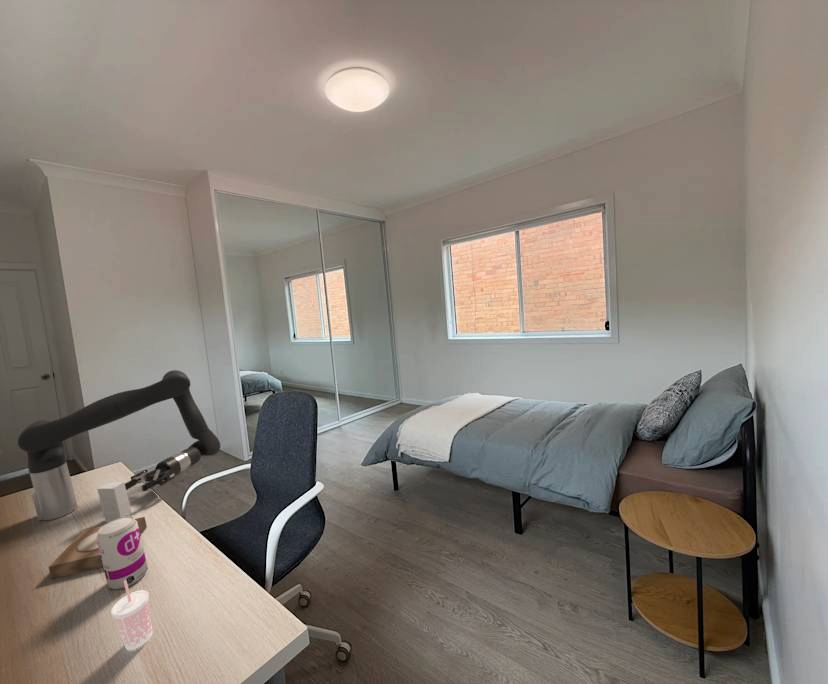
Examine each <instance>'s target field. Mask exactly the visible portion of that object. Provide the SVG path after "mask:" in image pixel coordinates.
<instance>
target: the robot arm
mask: <svg viewBox="0 0 828 684" xmlns="http://www.w3.org/2000/svg"><path fill="white" fill-rule="evenodd" d="M190 388H191V380H190V378H189V377H188V375H187V374H186V373H185V372H183V371H181V370H176V369H173V370H170V371H168V372H166V373H165V374H164V375H163V376H162V379H161V380H159V381H157V382H155V383H152V384H151V385H147V386H145V387H141V388H137V389H135V388H134V389H129V390H124V391H121V392H120V391H119V392H117V393H113V394H112V395H108V396H105V397H103V398H101V399H98V400H96V401H94V402H92V403H90V404H87V405H86V406H84V407H82V408H80V409H78V410H77V411H75V412H73V413H71V414H68V415H66V416H64V417H61V418H58V419H54V420H51V421H50V420H45V419H43V420H37V421H34V422H32V423H30V424H29V425H28V426H26V427H25V428H24V429H23V430H22V432H21V433H20V435H19V436H18V440H17V445H18V447H19V448H20V449H21V450H22V451H24V452H26V453H27V469H28V472H29V476H30V480H31V484H32V487H33V490H34V491H33V492H34V493H32V495H31V498H32V502H33V504H34V508H35V511H36V515H37V519H38V521H51V520H56V519H58V518H62V517H65V516H66V515H69V514H70V513H73V512H74V511H75V510H76V509H77V508H78V503H77V502H78V501H77V499H76V494H75V489H74V486H73V481H72V478H71V475H70V471H69V467H68V463H67V460H66V451H65V449H66V448H65V446H64V445H65V444H64V442H65V441H67V440H68V439H70V438H72V437H74V436H75V437H76V436H77V435H80V434H81V433H83V434H84V433H85V432H88V431H91V430H95V429H97V428H99V427H103V426H105V425H108V424H110V423H113V422H115V421H118V420H120V419H123V418H125V417H128V416H130V415H132V414H135V413H137V412H140V411H141V410H144V409H146V408H148V407H151V406H153V405H156V404H158V403H161V402H163V401H167V400H170V399H173V401H174V402H175V404H176V406H177V407H176V408H178V409H177V410H178V411H179V413H180V416H181V418H182V421H183V423H184V425H185V427H186V429H187V432H188V434H189V436H190V437H191V438H192V439H194V440H196V441H195V442H193V443H192V444H191V445H189V447H188V448H185V449H184V450H182V451H180V452H177V453H175V454H173V455H171V456H169V457H167V458H165V459H163V460H160V461H159V462H158V463H157V464H156V466H155V468H153V469H150V470H148V469H144V470H142V471H140V472H137V473H136V474H134V475H132V476H130V480H129V481H127V482H124V483H125V487H126V491H128V490H129V489H132V488H133V487H135V486H136V485H137V486H138V485H140V484H143V485H141V490H142V492H147V491H149V490H150V489H152V488H154V487H158V486H160V487H161V486H164V485H165V484H167V483H168V482H170V481H172V480H173V479H175V477H177V476H178V475H180V474H181V473H183V472H184V471H186V470H188V468H190V467H192V466H194V465H196V464H197V463H198V462H199V461H200V460H201V457H205V456H216V455H217V454H218V453H219V452H220V450H221V442H220V440H219V438H218V436H217V435H216V434H215V433H214V432H213V431H212V430H211V429H210V428H209V426H208V424H207V422H206V420H205V418H204V416H203V414H202V412H201V410H200V408H199V407H198V405H197V404H196V402H195V400H194V398H193V396H192V394H191V391H190ZM73 510H74V511H73Z"/></svg>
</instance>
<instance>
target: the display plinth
mask: <svg viewBox="0 0 828 684" xmlns="http://www.w3.org/2000/svg"><path fill="white" fill-rule="evenodd" d="M134 519H135V520H136V521H137V523H138V527H139V532H140V536H141V537H142V535H143V533H144V532H145V531H146V529H148V526H147V521H146V517H145V516H141V517H138V518H134ZM102 526H103V525H101V526H96V527H92V528H87V529H84V530H83V531H81V533H80V534H79V535H78V536H77V537H76V538H75V539H74V540H73V541H72V542H71V543H70V544H69V545H68V546H67V547H66V548H65V549H64V550H63V552H61V554H59V556H57V557H56V558H55V559H54V560H53V562H51V564H50V565H49V566H48V570H49V574H50V578H51V580H53V579H57V578H63V577H67V576H70V575H74V574H78V573H82V572H86V571H91V570H96V569H99V568H102V567H103V564H102V560H101V556H100V552H99V548H98V544H97V535H98V531H99V529H100V528H101V527H102ZM141 534H142V535H141Z"/></svg>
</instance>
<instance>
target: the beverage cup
mask: <svg viewBox="0 0 828 684" xmlns="http://www.w3.org/2000/svg"><path fill="white" fill-rule="evenodd" d="M124 585H125V588H124V589H125V593H126V595H125V596H123V597H122V598H120V599H119V600H118V601H117V602H115V604H114V605H113V607H111V616H112V618H113V619H114V620H115V622H116V625H117V629H118V631H119V633H120V637H121V638H122V641H123V644H124V647H125V649H127V650H133V649H136V648H138V647H140V646H142V645H143V644H144V643H146V642H147V641H148V640H149V639H150V638H151V636H152V634H153V635H154V633H153V632H154V631H153V624H152V619H151V613H150V606H149V605H150V604H149V601H150V596H149V591H147V590H146V589H143V590H142V589H140V590H136V591H133V592H131V593H130V590H129V586H128V584H127V580H124ZM152 637H153V636H152ZM151 639H152V638H151ZM151 639H150V640H151ZM150 640H149V641H150ZM127 650H126V651H127Z"/></svg>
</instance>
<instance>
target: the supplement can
mask: <svg viewBox="0 0 828 684" xmlns="http://www.w3.org/2000/svg"><path fill="white" fill-rule="evenodd" d="M135 519H136V518H134V517H132V515H130V516H126V517H121V518H118V519H115V520H113V521H110V522H106V523H105V524H104V525H101V526H102V527H101V528H100V529H99V531H98V535H97V544H98V548H99V552H100V556H101V560H102V564H103V571H104V575H105V579H106V583H107V587H108V588H109V589H114V590H121V589H125V585H124V580H127V584H128V587H130V586H132V585H134V584H136V583H137V582H138V581H140V580H141V579H142V578H143V577H144V576H145V574H147V571H148V569H149V567H148V563H147V562H148V561H147V558H146V554H145V550H144V546H143V540H142V535H141V536H140V532H139V527H138V523H137V521H136V520H135Z"/></svg>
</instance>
